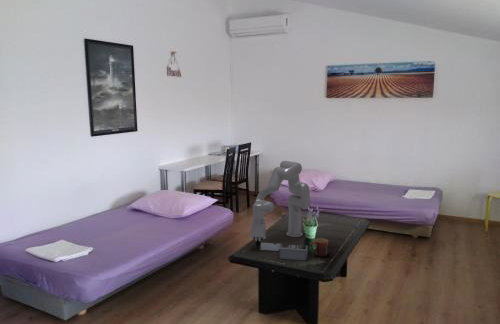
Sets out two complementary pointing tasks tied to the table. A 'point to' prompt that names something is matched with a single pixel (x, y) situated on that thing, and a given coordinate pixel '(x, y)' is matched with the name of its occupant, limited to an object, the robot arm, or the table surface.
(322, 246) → the mug
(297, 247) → the lock block
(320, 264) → the table surface
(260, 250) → the track
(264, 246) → the lock bar
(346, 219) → the table surface
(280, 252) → the grey open bin
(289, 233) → the robot arm
